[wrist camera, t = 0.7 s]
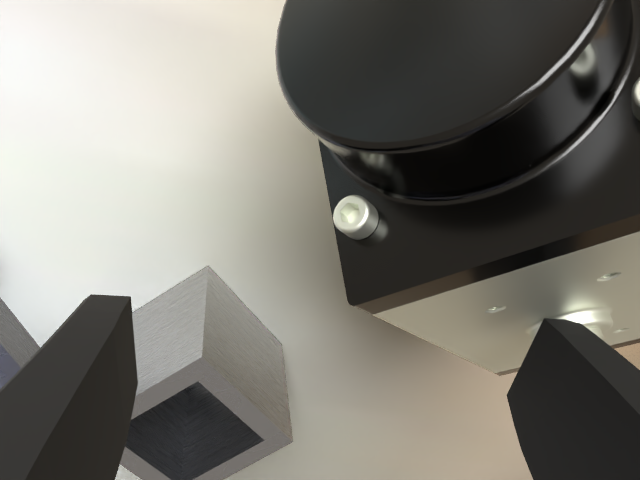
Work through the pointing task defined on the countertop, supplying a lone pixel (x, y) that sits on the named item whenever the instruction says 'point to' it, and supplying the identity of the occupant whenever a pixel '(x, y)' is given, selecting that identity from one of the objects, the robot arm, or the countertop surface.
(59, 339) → the robot arm
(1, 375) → the ratchet
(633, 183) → the pneumatic valve
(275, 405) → the hollow square tube
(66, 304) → the countertop surface
